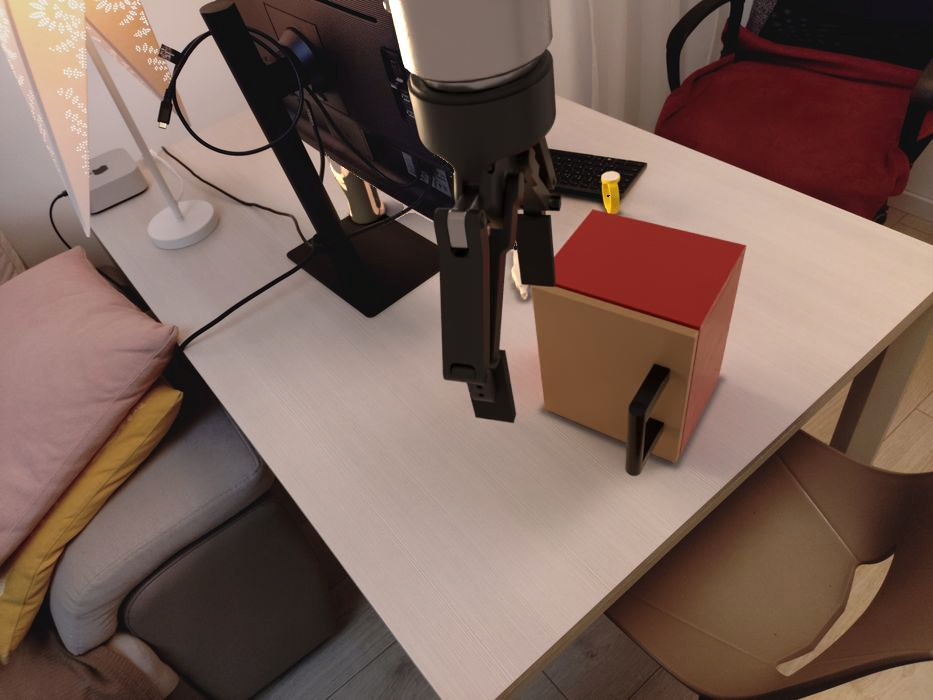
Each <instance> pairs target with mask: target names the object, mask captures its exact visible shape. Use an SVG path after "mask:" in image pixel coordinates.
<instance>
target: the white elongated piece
mask: <svg viewBox="0 0 933 700" xmlns="http://www.w3.org/2000/svg"><path fill="white" fill-rule="evenodd" d="M512 255H513V258H512V259H513V266H512V268H511V270H510V271H511V277H512V279H513V281H514V283H515V287H516V288H517V290H519V295H520V298H521V299H522V300H523V301H526V300H527V298H528V293H529V292H528V288H529V287H530V285H521V277H520V269H519V262H518V254H517V250H516V251H514V250H513V254H512Z"/></svg>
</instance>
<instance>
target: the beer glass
mask: <svg viewBox="0 0 933 700" xmlns="http://www.w3.org/2000/svg"><path fill="white" fill-rule="evenodd" d="M325 156H326V159H327V162H328V166H329V168H330V171H331V172H332V174H333V177H334V179H335V181H336V182H337V184H338V186H339V187H340V190H341V191H342V192H343V194H344V196H345V198H346V201H347V204H348V208H349V215H350V218H351V220H352V221H353V222H354V223H356V224H360V225H366V224H370V223H374V222H376V221H378V220H379V219H381V218H382V217H383V215H384V214H385V211H386V208H385V207H386V206H385V205H384V203H383V201H382V199H381V198H380V195H379V193H378V188H377V187H376V188H375V187H373V186H372V185H370V184H369V183H367V182H365V181H364V180H362V179H360V178H359V177H357V176H356V175H354V174H353V173H351V172H350V171H348V170H347V169H345V168H344V167H342V166H340V165H338V164H337V163H336V162H335V161H333V160H332V159H330V157H329V156H327V154H326V153H325Z"/></svg>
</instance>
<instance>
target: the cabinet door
mask: <svg viewBox="0 0 933 700" xmlns="http://www.w3.org/2000/svg"><path fill="white" fill-rule="evenodd" d="M530 289H531V297H532V298H531V299H532V307H533V315H534V324H535V334H536V343H537V352H538V353H537V354H538V361H539V368H540V369H539V370H540V379H541V387H542V397H543V404H544V405H543V407H544V409H545V410H546V411H549V412H551V413H553V414H555V415H558V416H561V417H562V418H565V419H567V420H570V421H572V422H575V423H578V424H580V425H583V427H584V426H585V427H587V428H590V429H591V430H595V431H596V432H600V433H602V434H604V435H607V436H608V437H611V438H613V439H616V440H618V441H620V442H623V443H625V465H624V470H625V472H626V473H627V474H628V475H629V476H631V477H637V476H639V475H641V473H643V470H644V468H645V466H646V464H647V463H648V461H649V459H650V457H651V456H652V455H654V456H657V457H659V458H662V459H664V460H667V461H669V462H671V463H673V464H676V463H677V461H678V460H679V458H680V455H679V452H680V446H681V440H682V434H683V427H684V421H685V415H686V409H687V402H688V396H689V390H690V383H691V377H692V371H693V365H694V358H695V352H696V346H697V339H698V333H699V331H698V330H694V329H691V328H688V327H685V326H681V325H678V324H675V323H672V322H668V321H665V320H662V319H659V318H655V317H652V316H649V315H646V314H642V313H639V312H636V311H633V310H629V309H626V308H623V307H620V306H616V305H613V304H610V303H607V302H603V301H600V300H597V299H594V298H590V297H587V296H584V295H581V294H577V293H574V292H571V291H568V290H564V289H561V288H558V287H555V286H554V287H546V286H533V285H530Z"/></svg>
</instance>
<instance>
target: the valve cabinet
mask: <svg viewBox="0 0 933 700" xmlns="http://www.w3.org/2000/svg"><path fill="white" fill-rule="evenodd" d="M746 249H747V244H744V243H743V244H742V243H739V242H735V241H730V240H726V239H721V238H718V237H713V236H709V235H705V234H700V233H696V232H691V231H688V230H683V229H680V228H675V227H670V226H665V225H661V224H658V223H652V222H648V221H644V220H641V219H637V218H636V219H635V218H632V217H627V216H623V215H619V214H616V213H615V214H611V213H608V212H607V211H602V210H598V209H591V211H590V212H589V213H588V214H587V215H586V217H585V218H584V219H583V220H582V221H581V222H580V224H579V225H578V226H577V228H575V230H574V231H573V233H572V234H571V235H570V237H569V238H568V239H567V240H566V241H565V243H564V244H563V245H562V246H561V247H560V248H559V250H558V251H557V253H555V254H554V263H555V276H556V282H555V287H558V288H561V289H564V290H568V291H571V292H574V293H577V294H581V295H584V296H587V297H590V298H594V299H597V300H600V301H603V302H607V303H610V304H613V305H616V306H620V307H623V308H626V309H629V310H633V311H636V312H639V313H642V314H646V315H649V316H652V317H655V318H659V319H662V320H665V321H668V322H672V323H675V324H678V325H681V326H685V327H688V328H691V329H694V330H698V331H699V333H698V339H697V346H696V352H695V358H694V365H693V371H692V377H691V383H690V390H689V396H688V402H687V409H686V415H685V421H684V427H683V434H682V440H681V446H680V452H679V456H681V454H682V452H683V450H684V449H685V446H686V444H687V442H688V441H689V439H690V436H691V435H692V433H693V431H694V429H695V427H696V426H697V425H696V424H697V423H698V421H699V419H700V417H701V415H702V413H703V411H704V409H705V407H706V405H707V403H708V401H709V399H710V397H711V395H712V393H713V391H714V389H715V388H716V385H717V384H718V381H719V379H720V375H721V370H722V364H723V360H724V356H725V350H726V345H727V340H728V336H729V331H730V326H731V322H732V316H733V312H734V307H735V303H736V298H737V293H738V288H739V285H740V284H739V283H740V279H741V273H742V269H743V265H744V264H743V263H744V260H745V254H746Z"/></svg>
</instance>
